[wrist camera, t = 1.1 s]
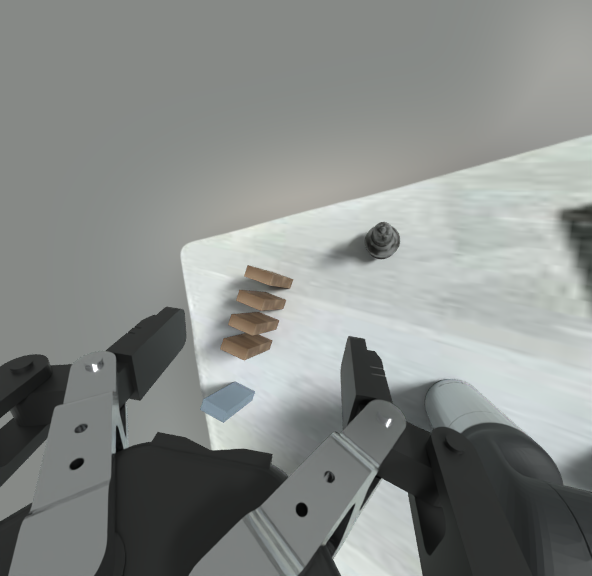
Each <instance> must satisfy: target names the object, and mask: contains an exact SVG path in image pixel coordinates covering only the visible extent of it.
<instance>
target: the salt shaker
mask: <svg viewBox="0 0 592 576" xmlns="http://www.w3.org/2000/svg"><path fill="white" fill-rule="evenodd" d="M399 244H400V236H399V233H398V232H397V230H396V229H395V228H393V227H392V226H391V225H390V224H389V223H387V222H381V223H379V224H377V225H376V226H375V227H373V228H372V229H371V230H370V231H369V232H368V233H367V235H366V238H365V245H366V248H367V250H368V252H369V253H370V254H371V255H372V256H373V257H375V258H378V259H385V258H388V257H390V256H391V255H392V254H393V253H394V252H396V250H397V249H398V247H399Z"/></svg>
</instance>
